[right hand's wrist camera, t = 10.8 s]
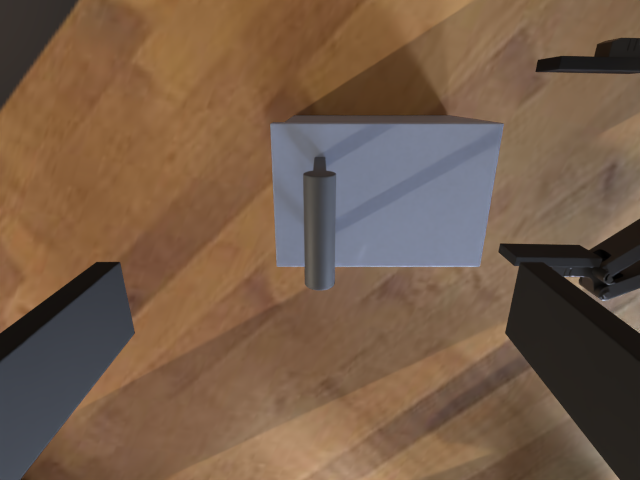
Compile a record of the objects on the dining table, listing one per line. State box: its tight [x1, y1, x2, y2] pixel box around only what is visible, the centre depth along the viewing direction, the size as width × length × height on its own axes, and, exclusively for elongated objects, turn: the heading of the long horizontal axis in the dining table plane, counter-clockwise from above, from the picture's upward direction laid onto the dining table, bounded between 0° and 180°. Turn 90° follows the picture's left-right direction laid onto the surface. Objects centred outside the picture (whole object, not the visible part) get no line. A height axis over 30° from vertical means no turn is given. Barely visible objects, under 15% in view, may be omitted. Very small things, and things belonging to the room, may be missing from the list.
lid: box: [270, 122, 504, 290], centre depth 22 cm, size 14×10×8 cm
